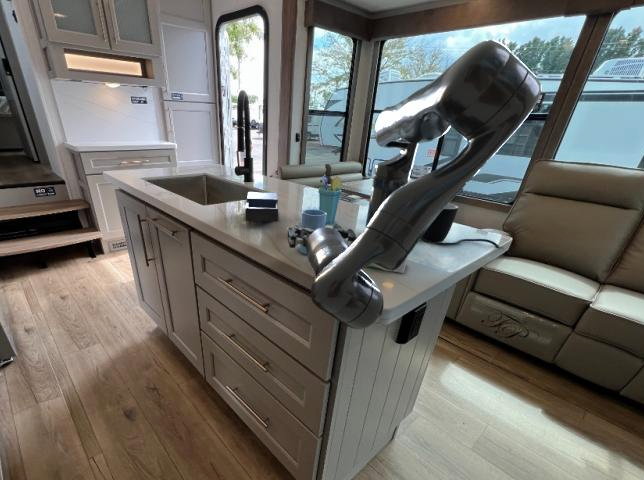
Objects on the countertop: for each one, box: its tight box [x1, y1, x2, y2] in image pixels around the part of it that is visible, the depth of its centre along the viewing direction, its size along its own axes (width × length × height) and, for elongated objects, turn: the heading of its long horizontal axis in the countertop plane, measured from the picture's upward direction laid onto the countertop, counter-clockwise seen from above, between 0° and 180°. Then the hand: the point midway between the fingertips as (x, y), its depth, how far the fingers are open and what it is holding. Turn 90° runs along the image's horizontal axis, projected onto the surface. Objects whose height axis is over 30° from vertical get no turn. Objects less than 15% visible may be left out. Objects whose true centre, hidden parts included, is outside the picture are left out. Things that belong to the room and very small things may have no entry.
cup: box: [318, 176, 343, 225], centre depth 102 cm, size 14×8×15 cm, turn 151°
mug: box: [422, 202, 459, 243], centre depth 93 cm, size 12×9×10 cm
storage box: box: [245, 191, 279, 222], centre depth 103 cm, size 10×19×7 cm, turn 3°
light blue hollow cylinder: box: [299, 209, 326, 256], centre depth 79 cm, size 6×6×10 cm
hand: (316, 227), depth 73 cm, fingers open, 8 cm apart
